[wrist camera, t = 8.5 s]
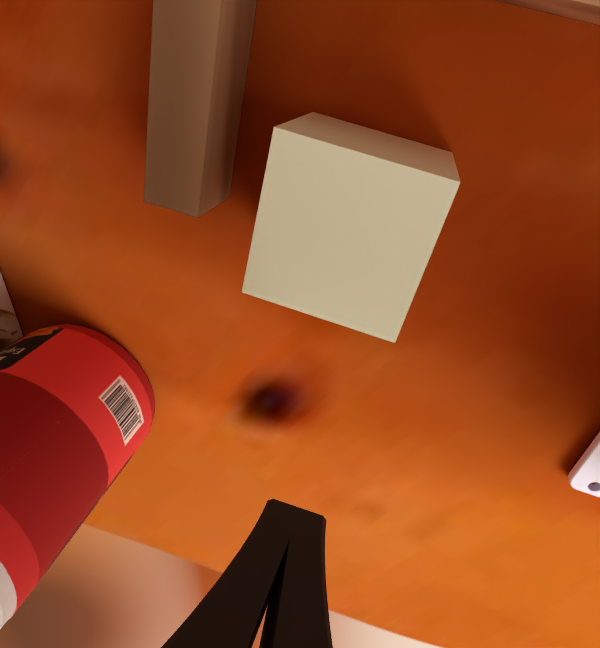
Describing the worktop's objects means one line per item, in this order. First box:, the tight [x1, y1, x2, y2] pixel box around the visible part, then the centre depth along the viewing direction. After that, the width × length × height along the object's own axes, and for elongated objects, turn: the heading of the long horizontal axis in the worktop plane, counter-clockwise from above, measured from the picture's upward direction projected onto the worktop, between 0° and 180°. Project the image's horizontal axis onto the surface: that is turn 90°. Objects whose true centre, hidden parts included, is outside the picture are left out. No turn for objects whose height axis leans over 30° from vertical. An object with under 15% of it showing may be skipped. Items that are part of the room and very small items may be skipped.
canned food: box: [0, 324, 155, 629], centre depth 21 cm, size 8×8×11 cm
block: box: [242, 112, 460, 343], centre depth 16 cm, size 5×5×5 cm
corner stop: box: [144, 0, 600, 218], centre depth 14 cm, size 14×10×3 cm
